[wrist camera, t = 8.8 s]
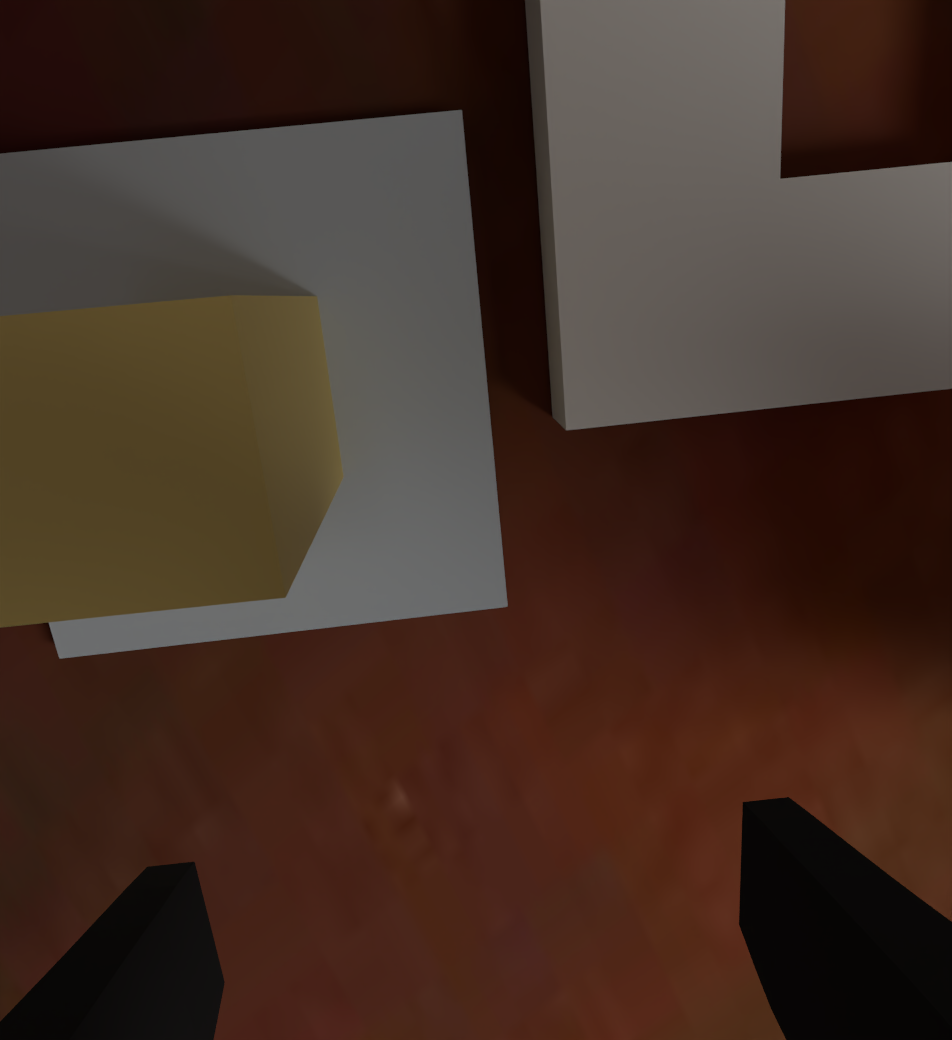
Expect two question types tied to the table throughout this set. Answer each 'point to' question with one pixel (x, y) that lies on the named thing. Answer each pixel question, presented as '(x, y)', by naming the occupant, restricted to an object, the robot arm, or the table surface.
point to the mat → (345, 326)
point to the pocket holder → (716, 226)
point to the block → (161, 455)
